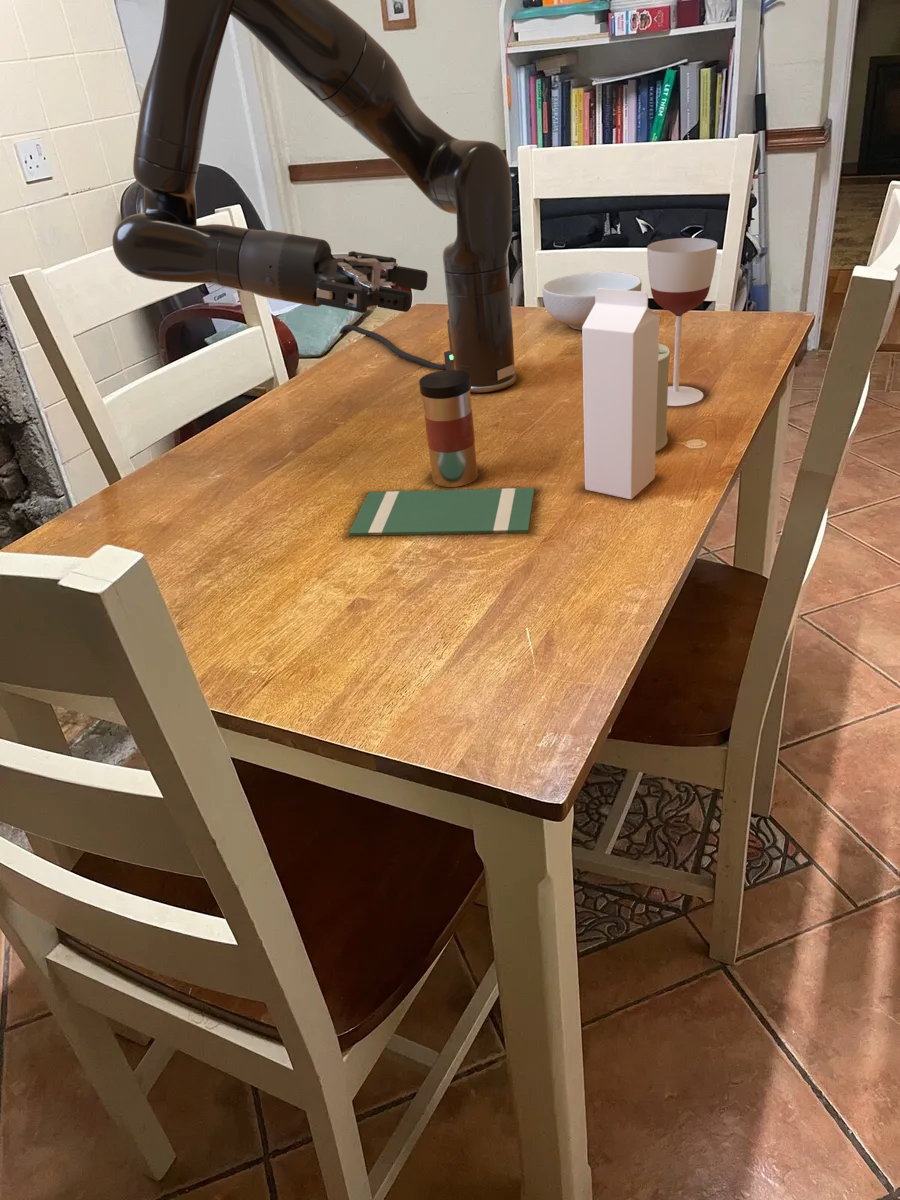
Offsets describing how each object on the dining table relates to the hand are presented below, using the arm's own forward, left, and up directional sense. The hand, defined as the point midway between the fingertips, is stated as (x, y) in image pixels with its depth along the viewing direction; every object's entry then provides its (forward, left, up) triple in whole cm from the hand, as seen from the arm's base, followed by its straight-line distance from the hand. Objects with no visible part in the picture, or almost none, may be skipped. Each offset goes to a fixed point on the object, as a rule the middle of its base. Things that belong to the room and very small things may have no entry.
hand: (418, 291), depth 102 cm
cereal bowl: (-27, +50, -21) cm, 60 cm away
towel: (+14, -8, -21) cm, 26 cm away
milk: (+23, +11, -21) cm, 33 cm away
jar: (+7, -2, -21) cm, 22 cm away
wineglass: (+8, +35, -21) cm, 41 cm away
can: (+15, +20, -21) cm, 32 cm away
